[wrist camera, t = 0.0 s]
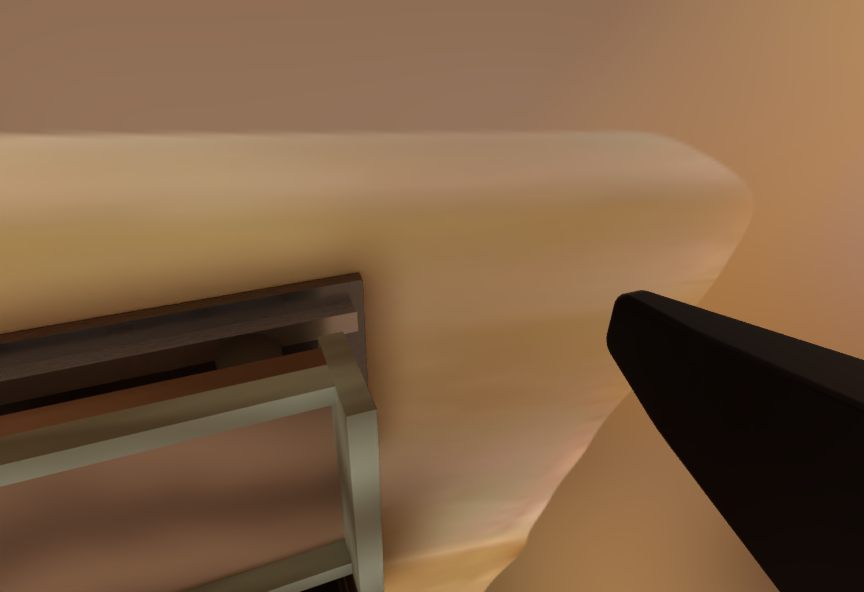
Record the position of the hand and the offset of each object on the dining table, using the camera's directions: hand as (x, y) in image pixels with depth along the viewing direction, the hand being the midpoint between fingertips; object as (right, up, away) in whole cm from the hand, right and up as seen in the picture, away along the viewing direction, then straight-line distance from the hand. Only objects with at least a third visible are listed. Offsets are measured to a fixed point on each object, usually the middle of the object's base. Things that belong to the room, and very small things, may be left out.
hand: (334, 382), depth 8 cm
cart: (-10, -5, +16) cm, 20 cm away
